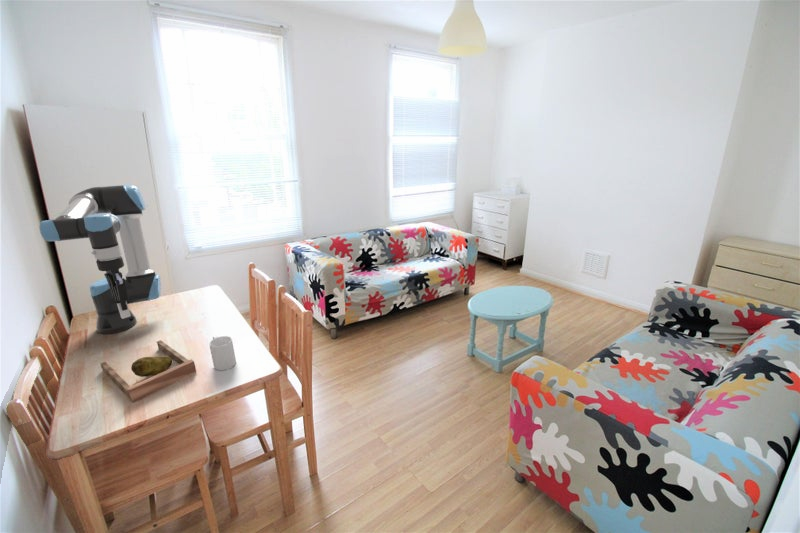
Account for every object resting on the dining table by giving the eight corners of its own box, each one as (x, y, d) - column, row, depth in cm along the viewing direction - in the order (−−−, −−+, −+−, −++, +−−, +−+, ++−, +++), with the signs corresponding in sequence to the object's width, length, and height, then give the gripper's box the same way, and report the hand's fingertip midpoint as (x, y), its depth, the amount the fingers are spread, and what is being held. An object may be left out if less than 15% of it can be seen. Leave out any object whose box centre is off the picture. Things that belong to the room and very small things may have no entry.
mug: (239, 364, 144) (235, 341, 141) (218, 373, 139) (213, 349, 136) (228, 352, 153) (223, 330, 149) (207, 360, 147) (202, 337, 144)
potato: (177, 371, 140) (172, 353, 138) (136, 386, 132) (131, 367, 130) (172, 362, 146) (167, 345, 143) (133, 376, 138) (127, 357, 135)
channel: (102, 371, 141) (99, 360, 139) (162, 347, 157) (159, 337, 155) (133, 402, 124) (129, 390, 122) (196, 372, 140) (193, 361, 138)
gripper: (90, 257, 133) (108, 315, 140) (102, 264, 125) (120, 325, 133) (114, 252, 138) (130, 308, 146) (127, 258, 131) (144, 317, 139)
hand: (125, 316), depth 140 cm, fingers closed
